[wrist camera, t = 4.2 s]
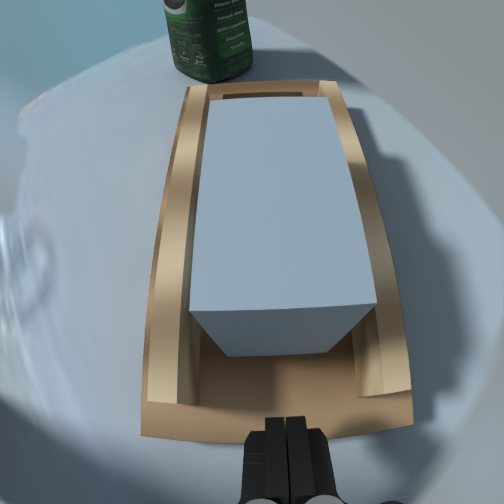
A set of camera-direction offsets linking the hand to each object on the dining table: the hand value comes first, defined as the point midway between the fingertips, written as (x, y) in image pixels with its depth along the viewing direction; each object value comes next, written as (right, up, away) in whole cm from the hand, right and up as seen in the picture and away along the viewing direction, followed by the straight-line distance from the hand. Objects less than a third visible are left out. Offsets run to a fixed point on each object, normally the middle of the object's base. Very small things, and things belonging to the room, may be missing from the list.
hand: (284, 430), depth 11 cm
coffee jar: (-6, +29, +23) cm, 38 cm away
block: (0, +6, +7) cm, 9 cm away
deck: (0, +9, +12) cm, 15 cm away
